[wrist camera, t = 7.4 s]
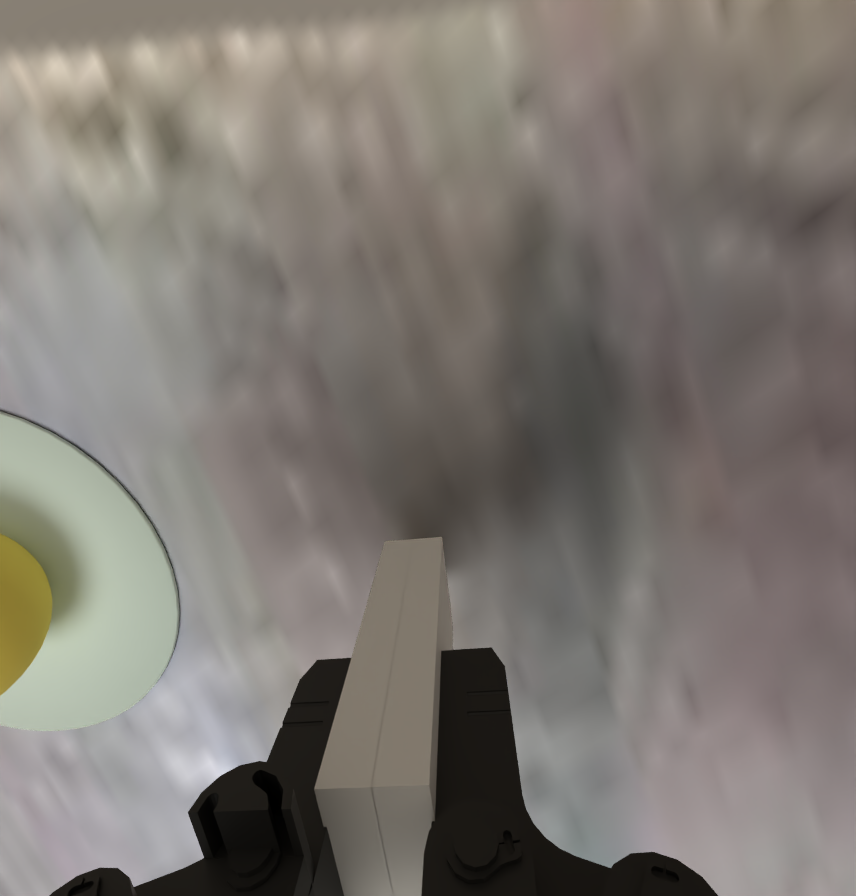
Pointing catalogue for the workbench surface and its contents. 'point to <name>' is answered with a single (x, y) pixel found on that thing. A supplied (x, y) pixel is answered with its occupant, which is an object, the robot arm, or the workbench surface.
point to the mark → (84, 584)
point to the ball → (21, 610)
